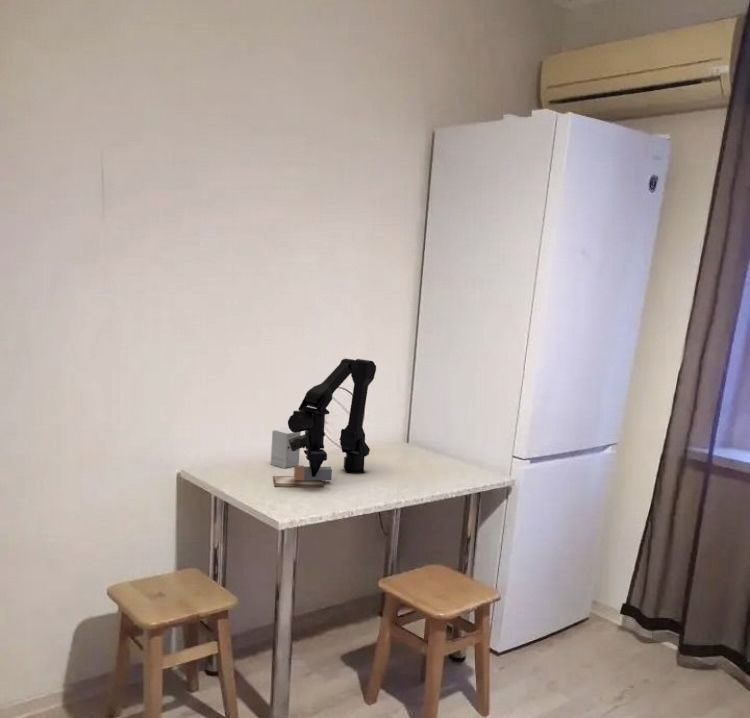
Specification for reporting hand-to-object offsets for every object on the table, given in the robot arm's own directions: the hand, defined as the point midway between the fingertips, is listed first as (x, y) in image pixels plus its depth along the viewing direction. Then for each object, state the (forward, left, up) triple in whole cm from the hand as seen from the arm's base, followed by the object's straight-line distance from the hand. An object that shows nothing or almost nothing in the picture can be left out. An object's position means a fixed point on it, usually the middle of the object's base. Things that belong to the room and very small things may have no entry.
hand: (313, 474), depth 235 cm
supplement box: (+8, -21, -3) cm, 23 cm away
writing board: (+5, 0, -2) cm, 5 cm away
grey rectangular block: (0, 0, -1) cm, 1 cm away
